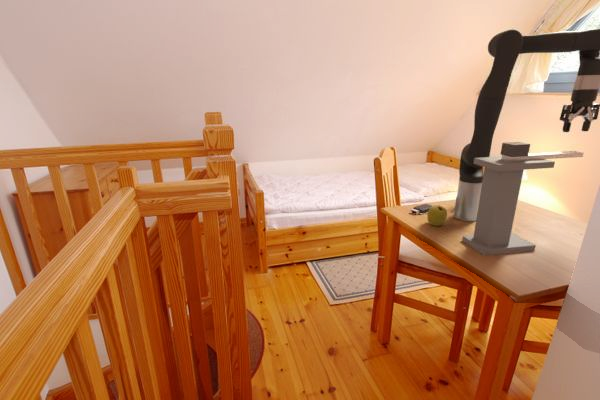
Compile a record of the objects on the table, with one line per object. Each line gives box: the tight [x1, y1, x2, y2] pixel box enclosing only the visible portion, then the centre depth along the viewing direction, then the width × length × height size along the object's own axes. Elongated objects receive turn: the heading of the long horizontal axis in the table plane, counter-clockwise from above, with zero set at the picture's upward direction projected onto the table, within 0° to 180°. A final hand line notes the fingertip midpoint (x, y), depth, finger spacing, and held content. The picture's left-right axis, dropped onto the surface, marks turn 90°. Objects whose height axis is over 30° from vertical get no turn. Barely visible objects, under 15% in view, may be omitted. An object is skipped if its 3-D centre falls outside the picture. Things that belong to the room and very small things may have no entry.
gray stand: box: [461, 155, 556, 256], centre depth 115 cm, size 20×12×32 cm, turn 98°
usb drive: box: [410, 203, 433, 215], centre depth 154 cm, size 5×12×3 cm, turn 122°
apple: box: [426, 205, 448, 227], centre depth 138 cm, size 8×8×10 cm
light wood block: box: [500, 141, 584, 161], centre depth 110 cm, size 28×5×6 cm, turn 98°
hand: (575, 131), depth 128 cm, fingers open, 8 cm apart
